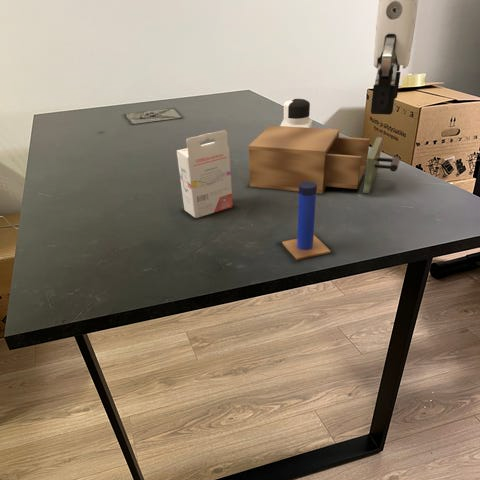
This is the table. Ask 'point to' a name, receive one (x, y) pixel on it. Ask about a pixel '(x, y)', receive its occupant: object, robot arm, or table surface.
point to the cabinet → (290, 157)
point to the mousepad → (153, 116)
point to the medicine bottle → (297, 114)
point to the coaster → (302, 254)
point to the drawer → (354, 163)
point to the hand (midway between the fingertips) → (384, 105)
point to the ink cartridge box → (205, 174)
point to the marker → (306, 215)
